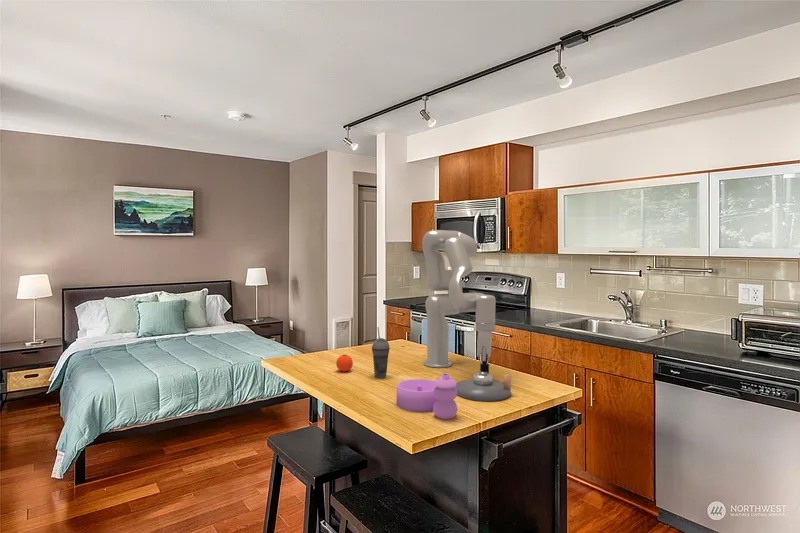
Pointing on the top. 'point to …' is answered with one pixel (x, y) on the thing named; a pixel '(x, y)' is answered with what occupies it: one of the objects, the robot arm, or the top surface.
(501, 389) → the grey domed disc
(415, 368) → the top surface
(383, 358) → the beverage cup
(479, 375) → the cover
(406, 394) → the container set
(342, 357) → the tomato
